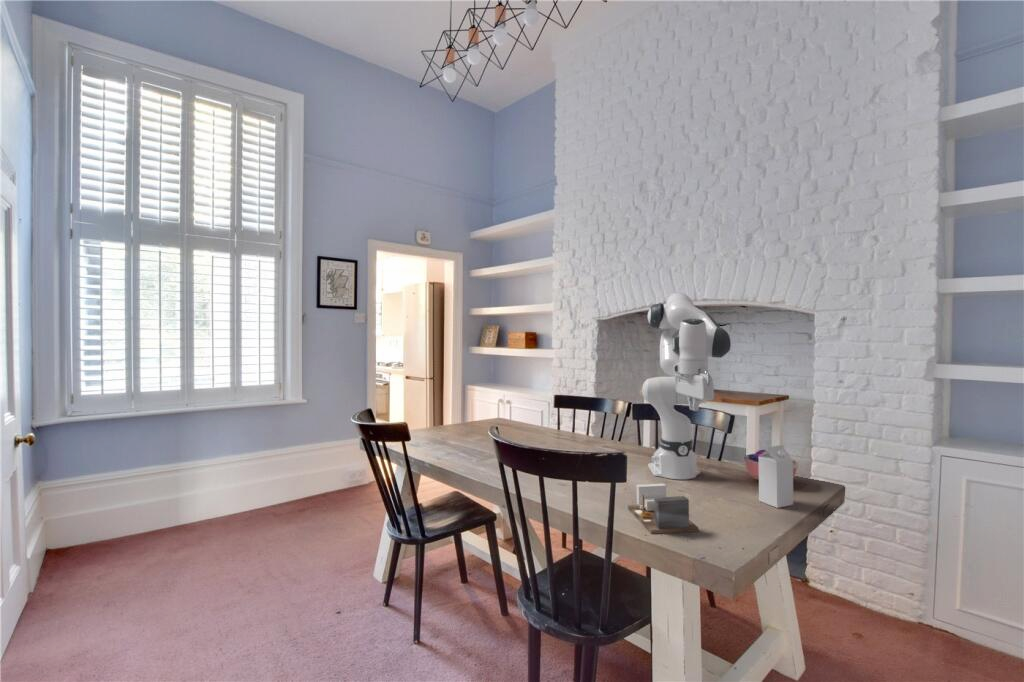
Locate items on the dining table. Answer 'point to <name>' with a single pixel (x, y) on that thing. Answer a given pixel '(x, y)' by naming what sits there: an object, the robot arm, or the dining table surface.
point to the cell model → (753, 464)
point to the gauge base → (652, 524)
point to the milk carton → (776, 477)
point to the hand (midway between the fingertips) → (694, 410)
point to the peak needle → (643, 509)
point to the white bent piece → (650, 494)
